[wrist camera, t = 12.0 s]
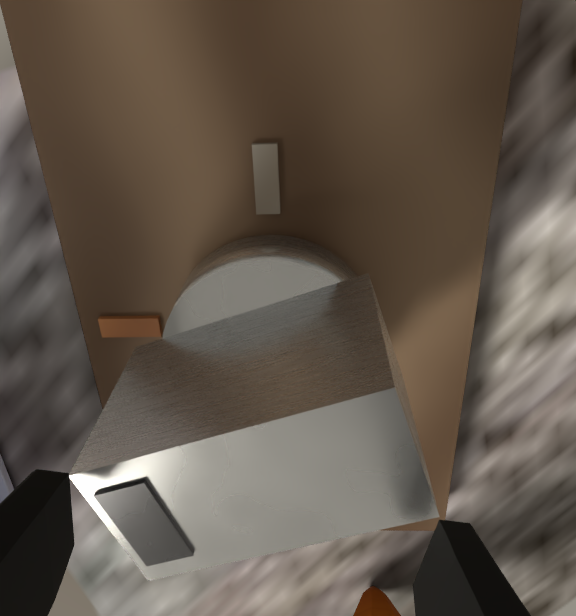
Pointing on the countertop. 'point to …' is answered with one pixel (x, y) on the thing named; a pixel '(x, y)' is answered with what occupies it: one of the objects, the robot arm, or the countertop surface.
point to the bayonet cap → (257, 417)
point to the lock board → (275, 160)
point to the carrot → (375, 604)
